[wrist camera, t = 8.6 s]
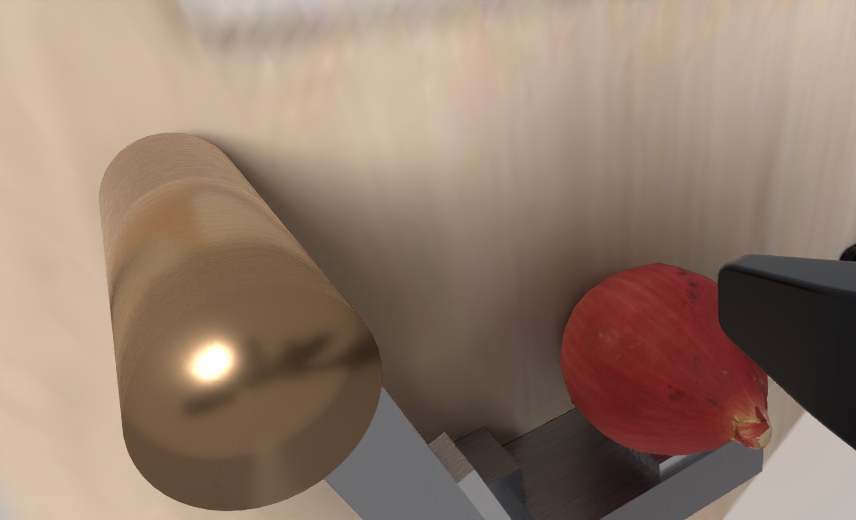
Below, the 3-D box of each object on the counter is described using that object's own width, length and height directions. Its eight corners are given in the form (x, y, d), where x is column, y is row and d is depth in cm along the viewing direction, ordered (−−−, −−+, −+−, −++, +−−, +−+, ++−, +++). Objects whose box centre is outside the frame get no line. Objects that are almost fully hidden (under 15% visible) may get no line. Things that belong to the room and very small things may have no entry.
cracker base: (667, 333, 27) (802, 415, 22) (671, 427, 29) (793, 521, 24) (356, 492, 23) (435, 636, 18) (389, 587, 25) (467, 738, 20)
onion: (598, 199, 23) (812, 292, 16) (669, 292, 26) (871, 401, 20) (484, 328, 23) (653, 475, 16) (569, 405, 26) (739, 555, 19)
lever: (462, 458, 23) (648, 692, 16) (382, 525, 23) (535, 799, 15) (196, 99, 15) (311, 221, 8) (65, 188, 15) (55, 406, 7)
